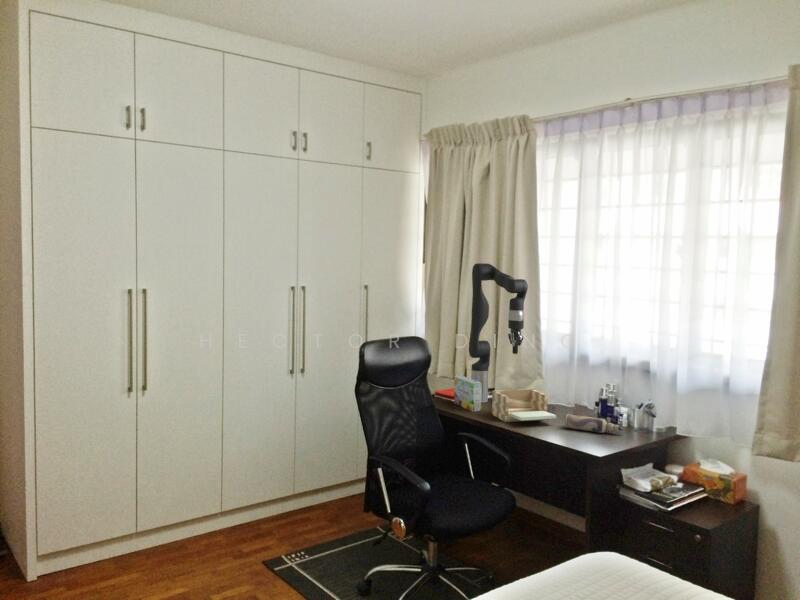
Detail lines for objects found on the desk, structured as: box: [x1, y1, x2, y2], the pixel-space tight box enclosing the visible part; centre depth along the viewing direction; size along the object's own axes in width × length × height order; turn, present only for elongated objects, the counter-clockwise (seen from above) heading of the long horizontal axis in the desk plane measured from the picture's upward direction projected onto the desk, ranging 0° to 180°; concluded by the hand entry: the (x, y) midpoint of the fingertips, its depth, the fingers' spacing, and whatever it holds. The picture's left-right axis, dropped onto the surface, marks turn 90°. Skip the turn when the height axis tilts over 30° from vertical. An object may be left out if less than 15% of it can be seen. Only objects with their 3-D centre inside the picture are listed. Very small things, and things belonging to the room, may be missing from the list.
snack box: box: [453, 375, 482, 413], centre depth 352 cm, size 21×6×15 cm, turn 23°
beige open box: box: [491, 388, 548, 423], centre depth 333 cm, size 16×22×12 cm
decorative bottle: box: [564, 413, 624, 434], centre depth 307 cm, size 26×8×7 cm, turn 60°
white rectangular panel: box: [509, 411, 557, 422], centre depth 319 cm, size 2×18×12 cm
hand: (515, 353), depth 337 cm, fingers closed
